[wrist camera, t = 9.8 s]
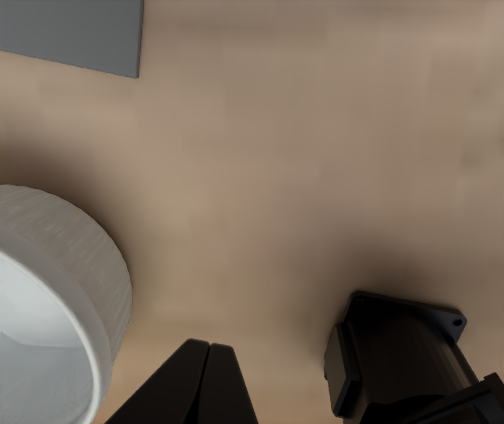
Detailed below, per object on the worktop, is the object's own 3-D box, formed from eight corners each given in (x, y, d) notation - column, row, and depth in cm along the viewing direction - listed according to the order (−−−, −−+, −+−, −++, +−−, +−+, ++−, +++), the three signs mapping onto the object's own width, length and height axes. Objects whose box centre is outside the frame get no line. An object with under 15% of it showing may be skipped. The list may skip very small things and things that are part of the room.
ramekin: (-58, 335, 25) (-173, 433, 19) (-89, 139, 20) (-263, 182, 14) (142, 375, 25) (95, 486, 19) (162, 192, 20) (109, 258, 14)
